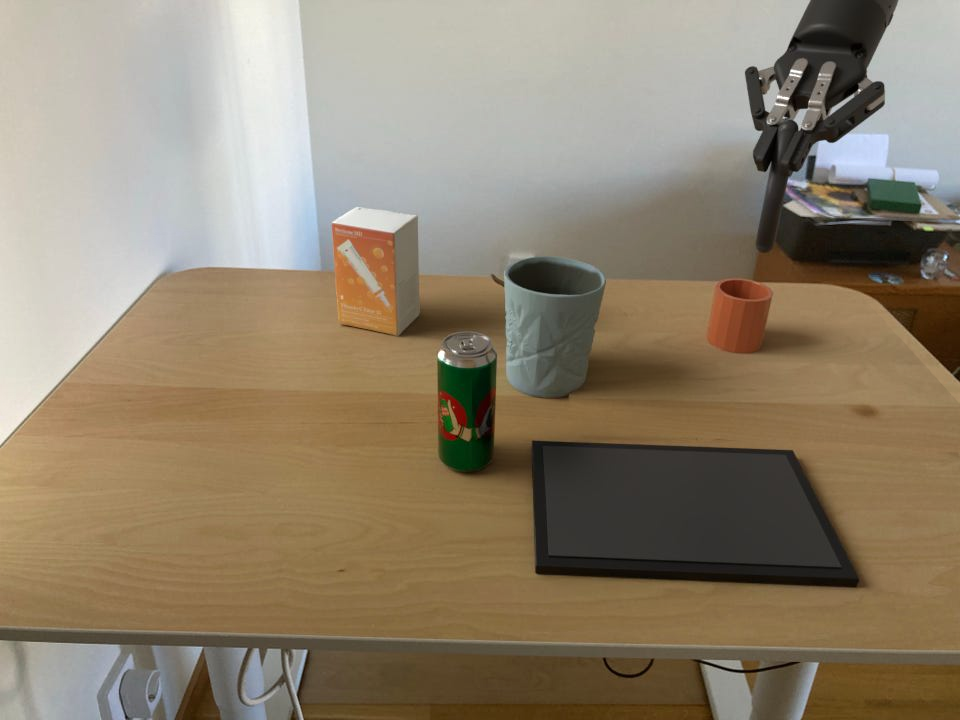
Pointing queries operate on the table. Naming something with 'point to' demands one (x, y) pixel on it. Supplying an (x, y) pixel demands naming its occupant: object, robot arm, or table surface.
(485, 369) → the soda can
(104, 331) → the table surface
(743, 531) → the tablet
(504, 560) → the table surface
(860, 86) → the robot arm
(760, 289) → the pen pot
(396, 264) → the small box
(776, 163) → the stylus
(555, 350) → the embossed blue-green cup
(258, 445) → the table surface
